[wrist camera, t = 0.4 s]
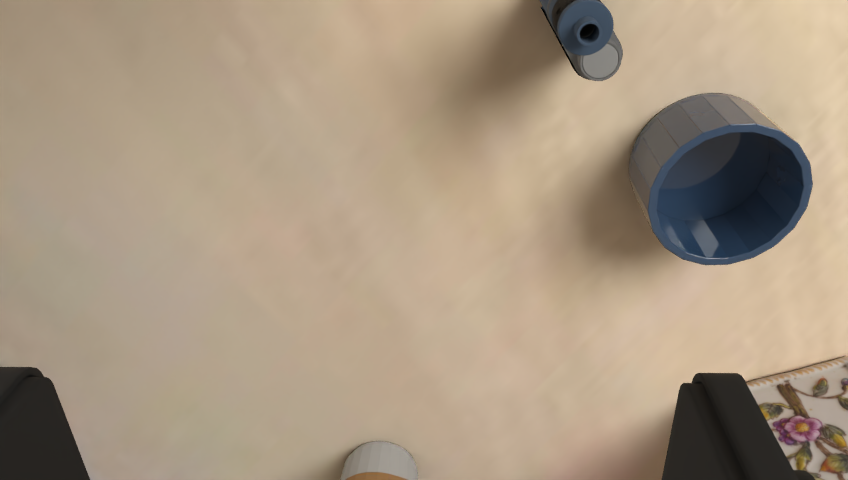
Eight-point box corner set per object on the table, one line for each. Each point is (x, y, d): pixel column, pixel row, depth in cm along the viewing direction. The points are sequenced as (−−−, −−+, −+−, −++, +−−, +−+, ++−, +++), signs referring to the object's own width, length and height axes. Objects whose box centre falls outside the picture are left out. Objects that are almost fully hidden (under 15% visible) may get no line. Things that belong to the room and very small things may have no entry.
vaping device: (566, -49, 38) (604, -11, 28) (607, 32, 40) (657, 96, 30) (525, -22, 39) (547, 24, 28) (567, 56, 41) (602, 126, 30)
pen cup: (636, 95, 42) (658, 126, 37) (787, 90, 41) (829, 121, 36) (622, 223, 46) (640, 266, 41) (758, 220, 46) (793, 263, 41)
